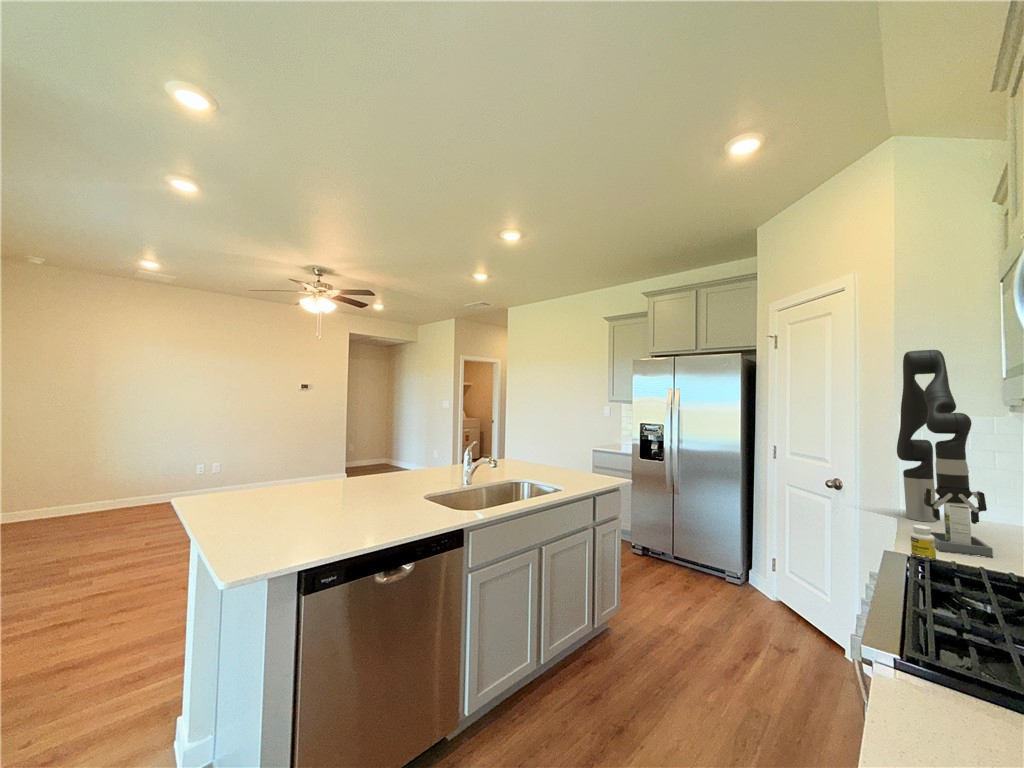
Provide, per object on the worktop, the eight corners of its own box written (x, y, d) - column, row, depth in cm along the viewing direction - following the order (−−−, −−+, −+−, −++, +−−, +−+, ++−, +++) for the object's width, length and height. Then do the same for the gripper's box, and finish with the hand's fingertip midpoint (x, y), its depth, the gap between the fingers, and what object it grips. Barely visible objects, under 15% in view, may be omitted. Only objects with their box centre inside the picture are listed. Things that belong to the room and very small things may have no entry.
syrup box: (945, 542, 143) (942, 499, 144) (971, 546, 139) (967, 502, 140) (946, 546, 139) (943, 502, 140) (973, 550, 135) (969, 504, 136)
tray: (926, 540, 148) (926, 531, 148) (975, 545, 141) (974, 536, 142) (939, 551, 136) (938, 541, 136) (992, 558, 130) (992, 548, 130)
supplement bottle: (908, 557, 131) (905, 525, 131) (917, 555, 133) (915, 523, 134) (930, 563, 126) (928, 529, 126) (940, 560, 128) (937, 527, 129)
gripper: (978, 472, 140) (982, 522, 139) (919, 469, 147) (923, 516, 146) (987, 475, 133) (991, 527, 132) (925, 472, 141) (929, 521, 140)
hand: (955, 521), depth 139 cm, fingers open, 8 cm apart
